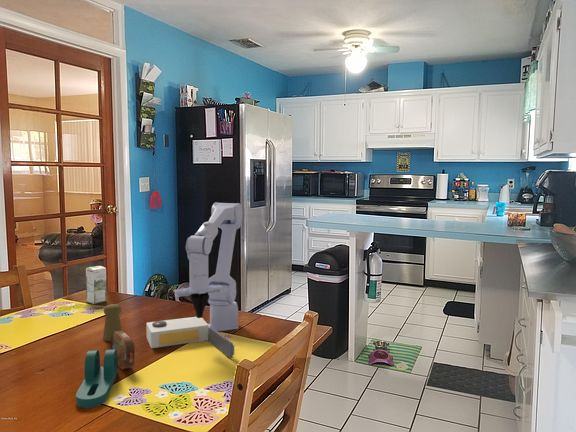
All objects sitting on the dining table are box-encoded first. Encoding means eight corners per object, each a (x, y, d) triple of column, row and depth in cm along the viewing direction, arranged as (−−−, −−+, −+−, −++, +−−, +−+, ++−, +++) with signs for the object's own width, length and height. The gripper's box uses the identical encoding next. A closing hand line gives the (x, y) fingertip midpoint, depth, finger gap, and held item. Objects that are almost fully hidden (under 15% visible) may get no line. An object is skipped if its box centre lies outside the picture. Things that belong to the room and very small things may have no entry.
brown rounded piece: (110, 355, 135) (109, 327, 134) (120, 353, 137) (120, 326, 136) (125, 374, 123) (124, 344, 122) (136, 371, 125) (136, 341, 124)
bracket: (91, 375, 122) (90, 346, 121) (117, 373, 123) (117, 345, 123) (72, 409, 105) (71, 376, 104) (103, 407, 106) (103, 374, 105)
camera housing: (200, 330, 157) (200, 314, 157) (209, 340, 148) (209, 323, 147) (146, 337, 150) (146, 320, 149) (151, 349, 140) (151, 331, 140)
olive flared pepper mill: (116, 341, 146) (115, 308, 145) (99, 340, 147) (98, 306, 146) (126, 335, 151) (125, 302, 150) (110, 333, 153) (109, 301, 152)
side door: (207, 340, 147) (207, 326, 147) (212, 339, 148) (212, 326, 148) (230, 358, 133) (230, 343, 133) (234, 357, 134) (234, 342, 134)
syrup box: (98, 298, 193) (98, 265, 192) (107, 301, 190) (106, 267, 189) (86, 301, 189) (85, 267, 187) (94, 304, 185) (93, 269, 184)
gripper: (178, 279, 134) (178, 324, 136) (225, 274, 141) (225, 317, 142) (173, 274, 140) (173, 317, 142) (218, 270, 147) (218, 311, 148)
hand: (199, 317), depth 142 cm, fingers closed
